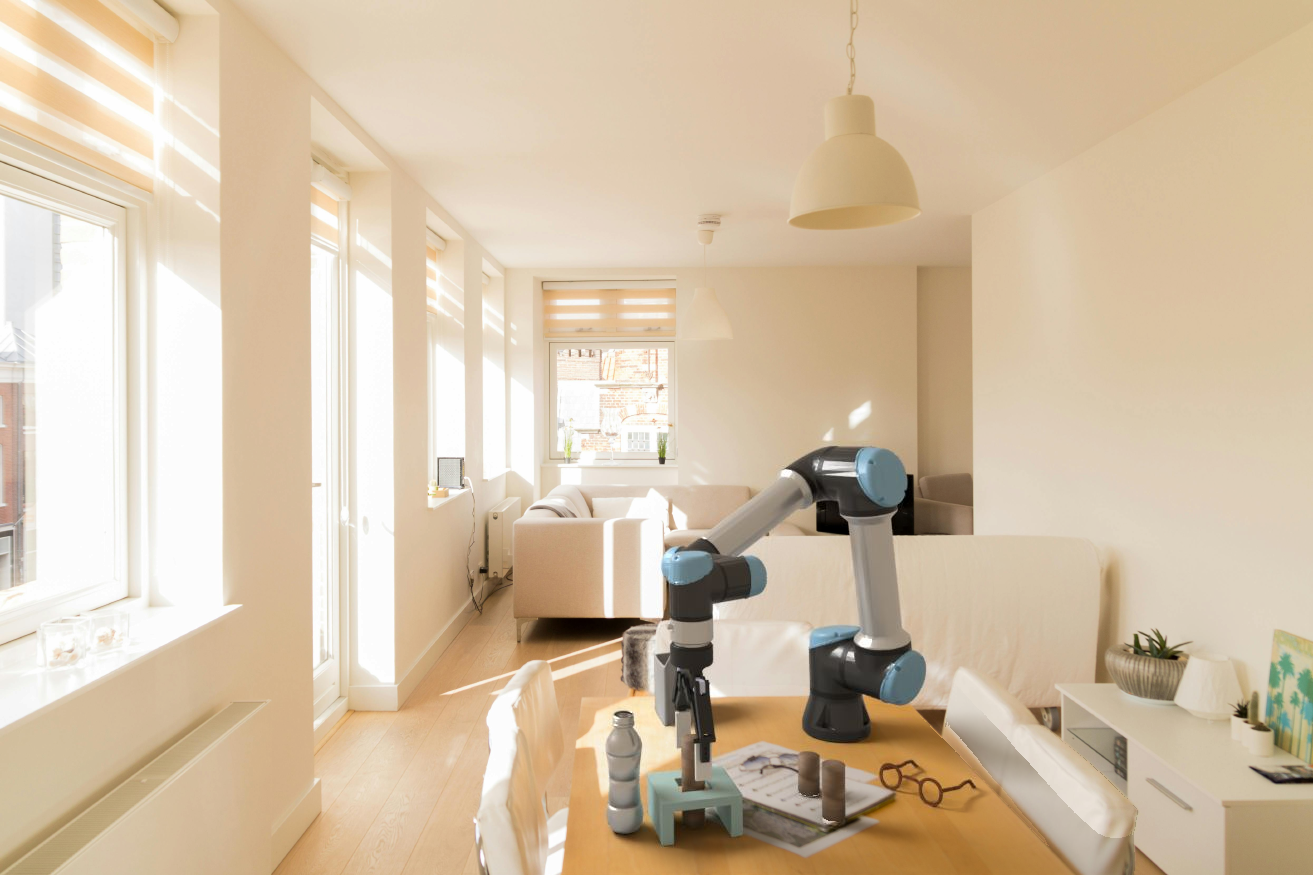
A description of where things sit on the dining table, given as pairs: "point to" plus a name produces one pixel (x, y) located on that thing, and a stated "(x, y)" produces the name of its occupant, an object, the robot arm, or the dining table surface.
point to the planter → (664, 688)
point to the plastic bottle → (624, 775)
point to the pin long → (690, 782)
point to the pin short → (808, 773)
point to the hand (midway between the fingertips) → (693, 762)
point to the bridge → (692, 801)
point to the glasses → (891, 766)
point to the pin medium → (833, 791)
